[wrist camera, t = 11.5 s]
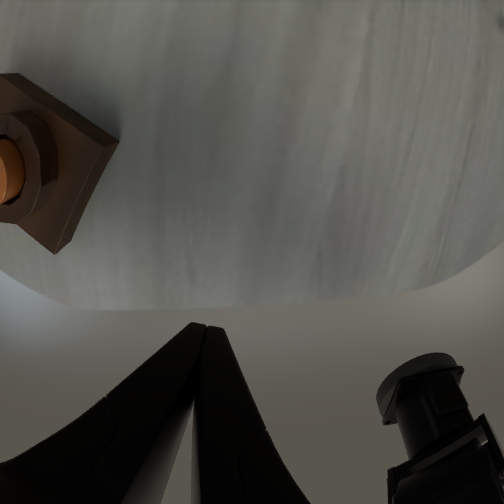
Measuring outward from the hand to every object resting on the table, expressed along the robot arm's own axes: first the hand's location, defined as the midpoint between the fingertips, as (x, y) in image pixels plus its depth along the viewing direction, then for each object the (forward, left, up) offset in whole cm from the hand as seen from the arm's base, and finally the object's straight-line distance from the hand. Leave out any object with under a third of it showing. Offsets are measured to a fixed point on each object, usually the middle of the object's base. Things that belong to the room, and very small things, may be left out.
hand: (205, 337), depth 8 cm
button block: (+4, +13, -12) cm, 18 cm away
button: (+4, +13, -8) cm, 16 cm away
